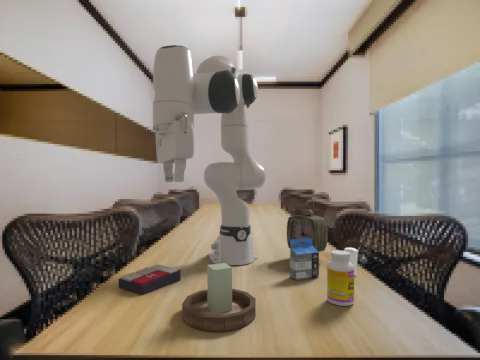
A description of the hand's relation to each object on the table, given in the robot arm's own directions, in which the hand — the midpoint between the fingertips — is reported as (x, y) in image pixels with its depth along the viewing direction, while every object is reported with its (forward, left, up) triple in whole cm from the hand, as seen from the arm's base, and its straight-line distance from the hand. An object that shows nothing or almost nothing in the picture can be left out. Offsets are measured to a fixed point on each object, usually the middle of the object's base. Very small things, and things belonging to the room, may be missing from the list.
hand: (173, 182), depth 65 cm
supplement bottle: (+7, +42, -31) cm, 53 cm away
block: (0, +11, -30) cm, 32 cm away
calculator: (-28, -1, -32) cm, 43 cm away
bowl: (0, +11, -31) cm, 33 cm away
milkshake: (-8, +62, -31) cm, 70 cm away
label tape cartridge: (-13, +46, -31) cm, 57 cm away
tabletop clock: (-30, +61, -31) cm, 75 cm away
